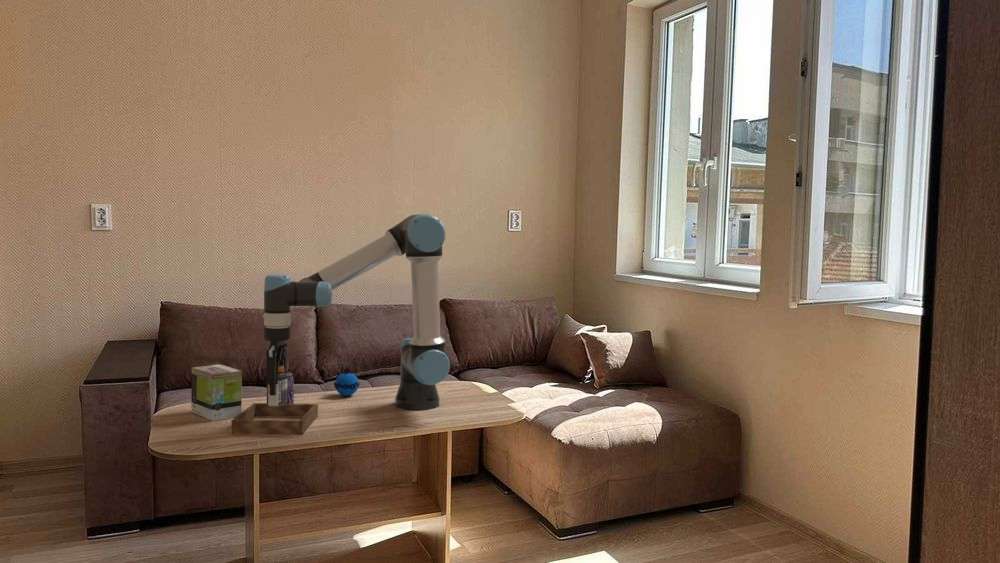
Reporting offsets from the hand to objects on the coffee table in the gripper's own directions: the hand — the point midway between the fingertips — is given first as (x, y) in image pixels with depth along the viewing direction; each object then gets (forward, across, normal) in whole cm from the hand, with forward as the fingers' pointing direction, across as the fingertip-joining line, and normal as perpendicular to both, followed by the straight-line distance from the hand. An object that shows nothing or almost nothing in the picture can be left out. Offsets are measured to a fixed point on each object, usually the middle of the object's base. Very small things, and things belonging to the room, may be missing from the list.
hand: (276, 402), depth 209 cm
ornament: (+7, -38, +14) cm, 41 cm away
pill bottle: (0, 0, 0) cm, 0 cm away
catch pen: (+7, 0, 0) cm, 7 cm away
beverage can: (+7, -17, -3) cm, 19 cm away
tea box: (+7, -11, -22) cm, 25 cm away
